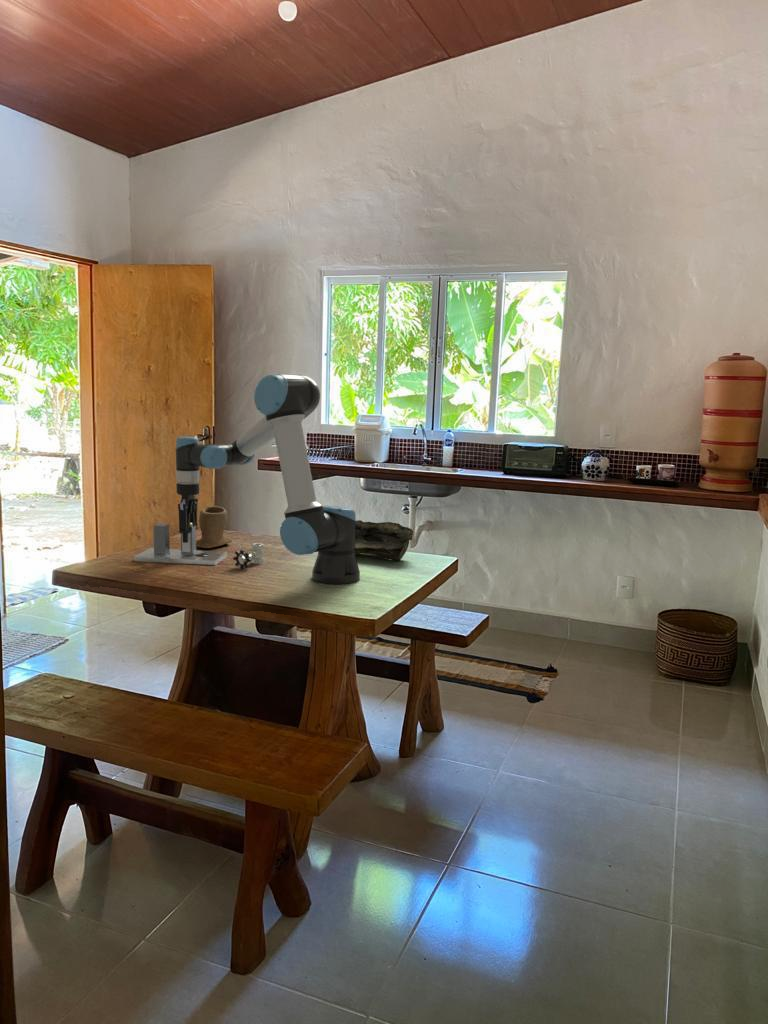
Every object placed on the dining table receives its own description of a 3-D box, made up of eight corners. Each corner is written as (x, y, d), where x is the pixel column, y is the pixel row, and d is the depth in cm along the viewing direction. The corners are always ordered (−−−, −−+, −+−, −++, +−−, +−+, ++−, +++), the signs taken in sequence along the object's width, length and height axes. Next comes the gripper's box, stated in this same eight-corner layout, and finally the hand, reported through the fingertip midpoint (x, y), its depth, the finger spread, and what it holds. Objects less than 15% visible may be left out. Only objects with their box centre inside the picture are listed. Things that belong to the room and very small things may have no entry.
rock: (411, 576, 265) (427, 541, 272) (400, 556, 255) (417, 520, 262) (344, 562, 278) (360, 529, 285) (331, 543, 269) (348, 509, 276)
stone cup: (210, 552, 271) (210, 511, 269) (187, 547, 278) (187, 507, 275) (240, 545, 284) (240, 506, 281) (218, 541, 290) (217, 502, 288)
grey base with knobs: (215, 565, 253) (215, 531, 251) (134, 561, 255) (133, 527, 253) (227, 555, 266) (227, 523, 265) (150, 552, 269) (149, 520, 267)
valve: (252, 560, 261) (232, 568, 250) (252, 542, 260) (232, 548, 249) (269, 563, 259) (250, 570, 248) (269, 544, 257) (250, 550, 246)
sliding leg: (192, 555, 258) (192, 524, 256) (181, 554, 258) (180, 523, 257) (196, 552, 262) (195, 522, 260) (185, 552, 262) (184, 521, 261)
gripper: (185, 479, 265) (186, 544, 269) (167, 485, 248) (169, 555, 252) (206, 479, 264) (207, 545, 268) (190, 486, 247) (191, 556, 251)
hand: (188, 549), depth 260 cm, fingers closed on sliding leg, 4 cm apart
